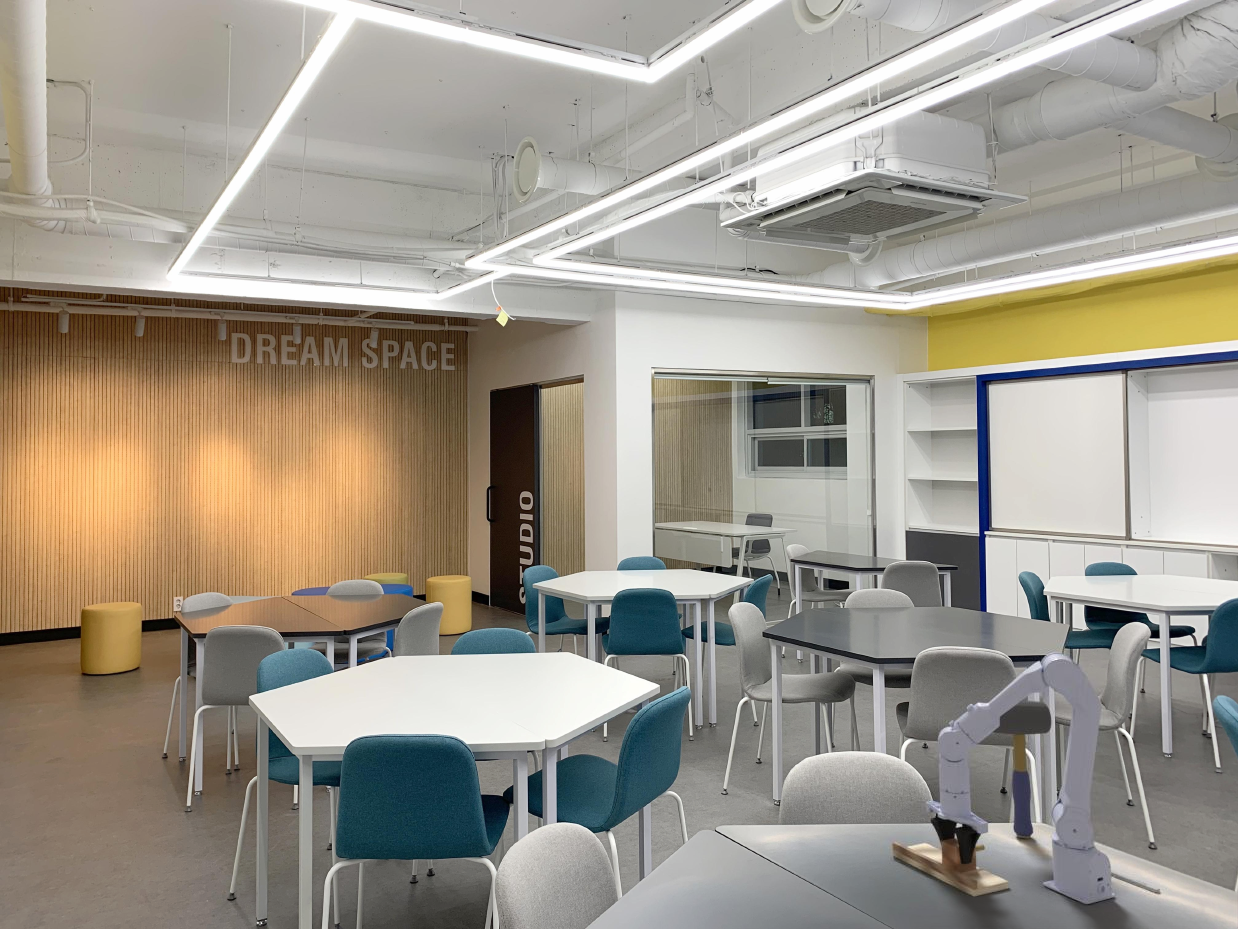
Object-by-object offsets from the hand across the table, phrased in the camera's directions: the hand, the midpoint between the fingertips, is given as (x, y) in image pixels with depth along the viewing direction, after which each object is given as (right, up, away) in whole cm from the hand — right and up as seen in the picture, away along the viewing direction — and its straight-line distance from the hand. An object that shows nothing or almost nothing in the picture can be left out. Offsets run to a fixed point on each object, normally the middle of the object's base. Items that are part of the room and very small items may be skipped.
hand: (957, 859), depth 170 cm
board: (-1, -3, +2) cm, 4 cm away
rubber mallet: (+23, -4, +20) cm, 30 cm away
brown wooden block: (+2, -2, +1) cm, 3 cm away
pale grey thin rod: (+32, -3, -4) cm, 32 cm away
